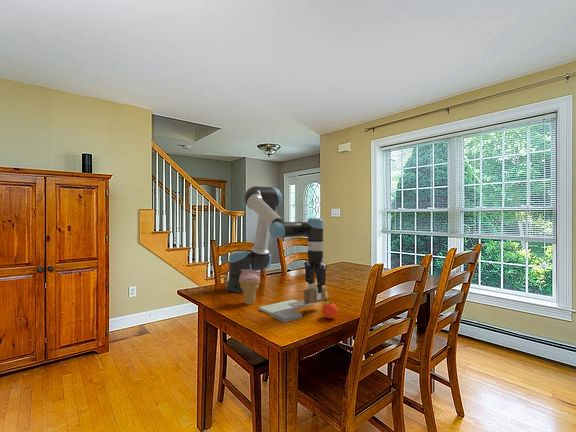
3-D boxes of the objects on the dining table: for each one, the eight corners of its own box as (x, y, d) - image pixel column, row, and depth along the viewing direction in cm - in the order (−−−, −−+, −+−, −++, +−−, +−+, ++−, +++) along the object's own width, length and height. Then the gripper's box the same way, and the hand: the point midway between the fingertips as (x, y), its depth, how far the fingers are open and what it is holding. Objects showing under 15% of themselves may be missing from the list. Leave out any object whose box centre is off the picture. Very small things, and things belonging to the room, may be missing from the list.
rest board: (258, 309, 148) (258, 307, 148) (293, 301, 161) (293, 299, 161) (272, 315, 139) (272, 312, 139) (307, 306, 153) (307, 304, 153)
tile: (290, 313, 143) (273, 318, 136) (290, 309, 143) (273, 313, 136) (301, 318, 136) (284, 323, 130) (301, 313, 136) (284, 318, 130)
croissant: (331, 306, 164) (337, 293, 165) (316, 299, 161) (323, 285, 162) (314, 296, 184) (320, 284, 185) (301, 289, 181) (307, 277, 182)
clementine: (317, 316, 137) (317, 301, 137) (328, 314, 141) (328, 298, 141) (329, 322, 131) (329, 305, 131) (340, 318, 135) (341, 302, 135)
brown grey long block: (317, 298, 153) (317, 286, 153) (326, 301, 148) (326, 288, 148) (288, 305, 141) (288, 292, 141) (296, 308, 136) (296, 295, 136)
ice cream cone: (236, 301, 161) (237, 263, 161) (256, 299, 165) (256, 262, 165) (241, 307, 151) (241, 267, 151) (262, 305, 155) (263, 265, 155)
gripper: (297, 249, 151) (297, 295, 152) (322, 252, 138) (322, 303, 138) (308, 248, 156) (308, 293, 156) (333, 251, 143) (333, 301, 143)
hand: (315, 298), depth 147 cm, fingers closed on brown grey long block, 4 cm apart
